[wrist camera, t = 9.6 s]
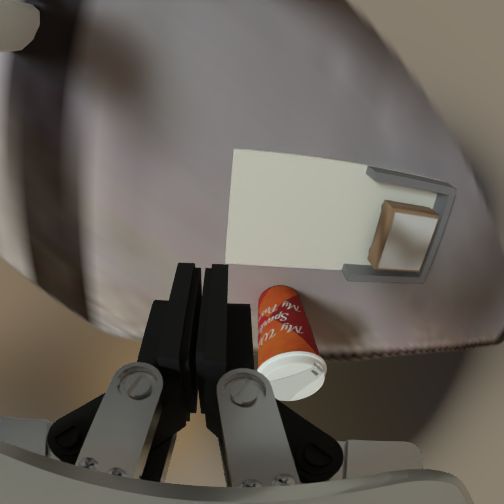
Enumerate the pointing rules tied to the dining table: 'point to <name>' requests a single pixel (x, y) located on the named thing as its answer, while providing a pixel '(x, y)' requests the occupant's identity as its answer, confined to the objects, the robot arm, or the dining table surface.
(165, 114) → the dining table surface
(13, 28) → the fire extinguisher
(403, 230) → the white wood-edged tile
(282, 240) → the dock bay
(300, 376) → the paper cup
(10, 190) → the dining table surface
